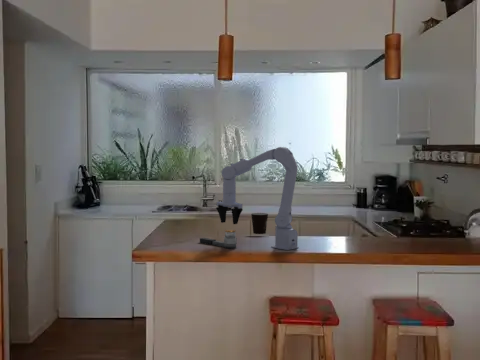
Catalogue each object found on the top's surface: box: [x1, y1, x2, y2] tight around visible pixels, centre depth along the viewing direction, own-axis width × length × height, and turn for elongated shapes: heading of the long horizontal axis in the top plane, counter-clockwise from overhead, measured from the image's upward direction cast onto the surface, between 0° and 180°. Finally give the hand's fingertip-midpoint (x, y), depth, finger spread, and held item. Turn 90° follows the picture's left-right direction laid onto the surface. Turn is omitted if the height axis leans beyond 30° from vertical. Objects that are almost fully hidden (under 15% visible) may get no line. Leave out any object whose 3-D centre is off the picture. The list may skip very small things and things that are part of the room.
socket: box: [223, 229, 237, 245], centre depth 240 cm, size 5×5×6 cm
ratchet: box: [199, 237, 237, 250], centre depth 246 cm, size 22×5×4 cm, turn 45°
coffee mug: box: [250, 212, 269, 235], centre depth 283 cm, size 12×9×10 cm
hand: (229, 223), depth 246 cm, fingers open, 7 cm apart
